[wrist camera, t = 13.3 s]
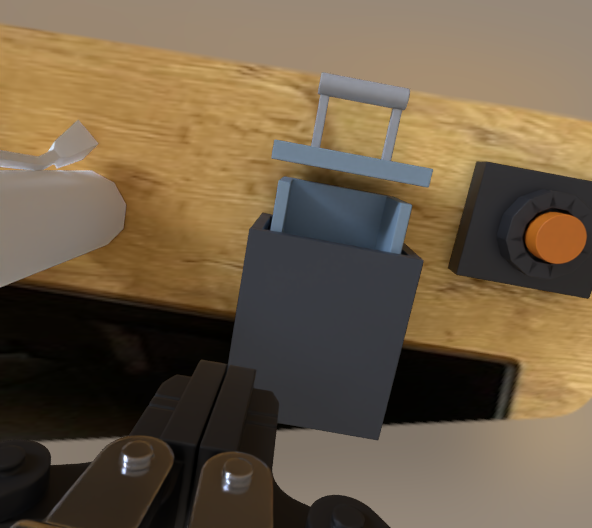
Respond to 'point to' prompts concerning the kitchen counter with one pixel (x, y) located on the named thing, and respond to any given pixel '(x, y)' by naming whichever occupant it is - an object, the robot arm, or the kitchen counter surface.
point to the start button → (555, 237)
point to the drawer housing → (323, 327)
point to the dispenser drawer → (344, 201)
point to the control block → (521, 229)
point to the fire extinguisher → (54, 207)
